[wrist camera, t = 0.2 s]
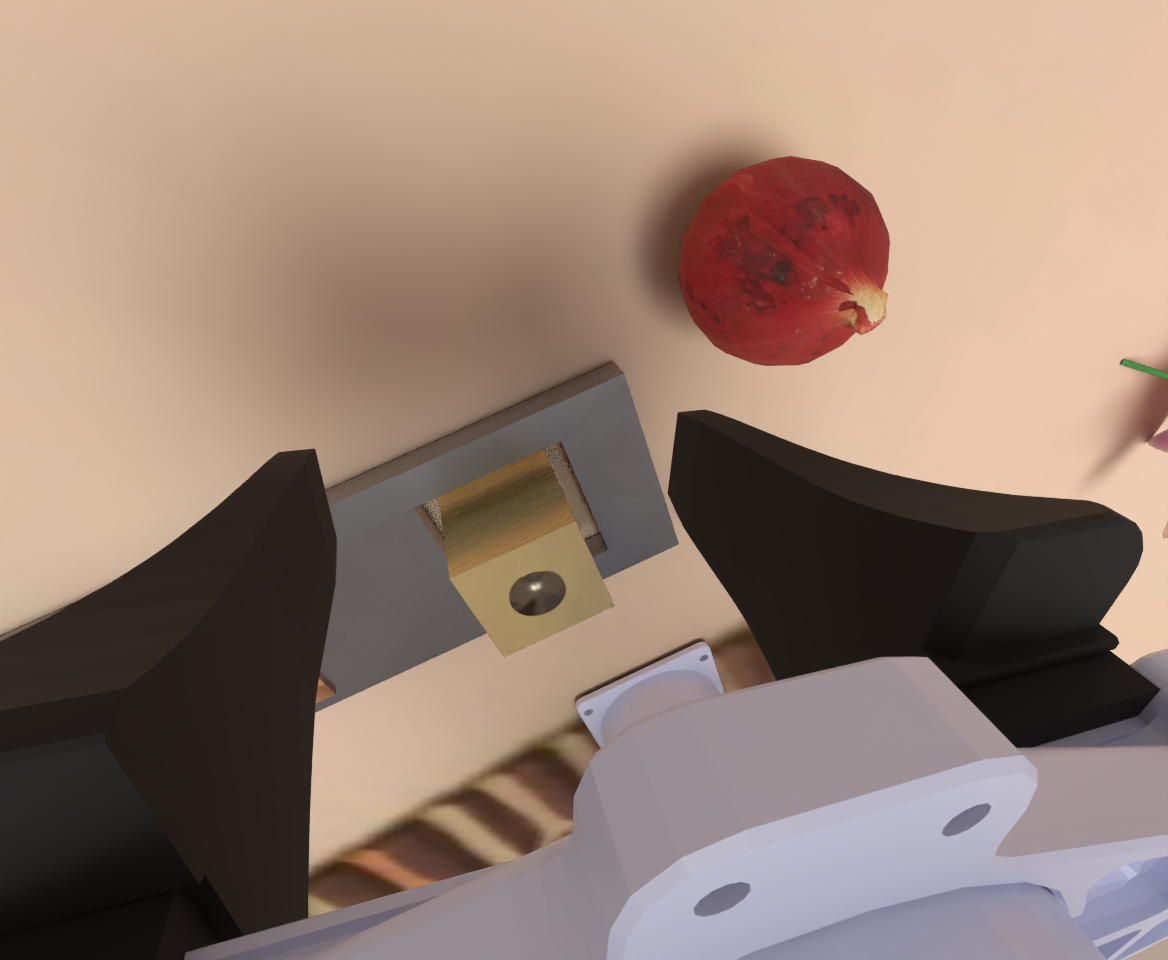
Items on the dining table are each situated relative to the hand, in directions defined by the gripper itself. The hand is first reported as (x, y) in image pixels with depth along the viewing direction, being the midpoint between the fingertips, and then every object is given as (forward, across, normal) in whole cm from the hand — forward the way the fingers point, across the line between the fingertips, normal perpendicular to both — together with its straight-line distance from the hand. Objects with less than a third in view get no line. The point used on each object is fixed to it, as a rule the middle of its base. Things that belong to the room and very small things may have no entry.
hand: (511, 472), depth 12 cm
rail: (+10, +5, +10) cm, 15 cm away
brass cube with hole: (+10, -1, +8) cm, 13 cm away
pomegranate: (+10, -9, -2) cm, 14 cm away
